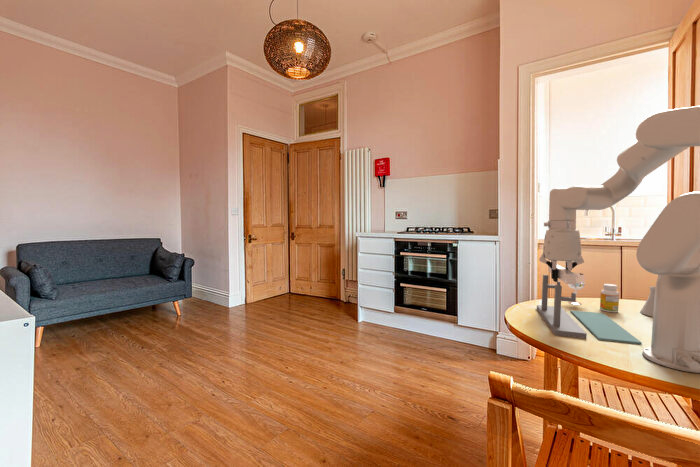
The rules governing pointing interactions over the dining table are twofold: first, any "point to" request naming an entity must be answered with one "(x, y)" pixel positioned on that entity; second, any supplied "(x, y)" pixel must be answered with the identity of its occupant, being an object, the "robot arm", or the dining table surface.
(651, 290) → the flask
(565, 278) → the steel rail
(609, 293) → the supplement bottle
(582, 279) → the wineglass
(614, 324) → the teal mat
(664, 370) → the dining table surface
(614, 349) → the dining table surface
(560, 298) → the rail stand
